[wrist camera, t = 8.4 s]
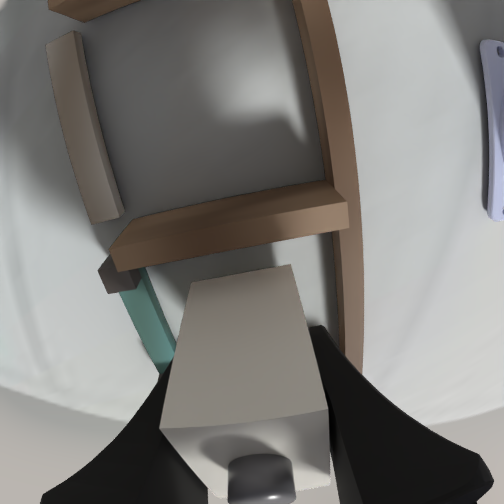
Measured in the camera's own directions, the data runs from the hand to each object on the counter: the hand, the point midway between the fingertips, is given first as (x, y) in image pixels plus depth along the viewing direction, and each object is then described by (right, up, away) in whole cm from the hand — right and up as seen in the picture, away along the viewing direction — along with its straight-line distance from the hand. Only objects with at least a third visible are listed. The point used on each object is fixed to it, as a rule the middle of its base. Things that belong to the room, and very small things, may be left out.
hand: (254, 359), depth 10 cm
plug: (0, +1, +2) cm, 2 cm away
